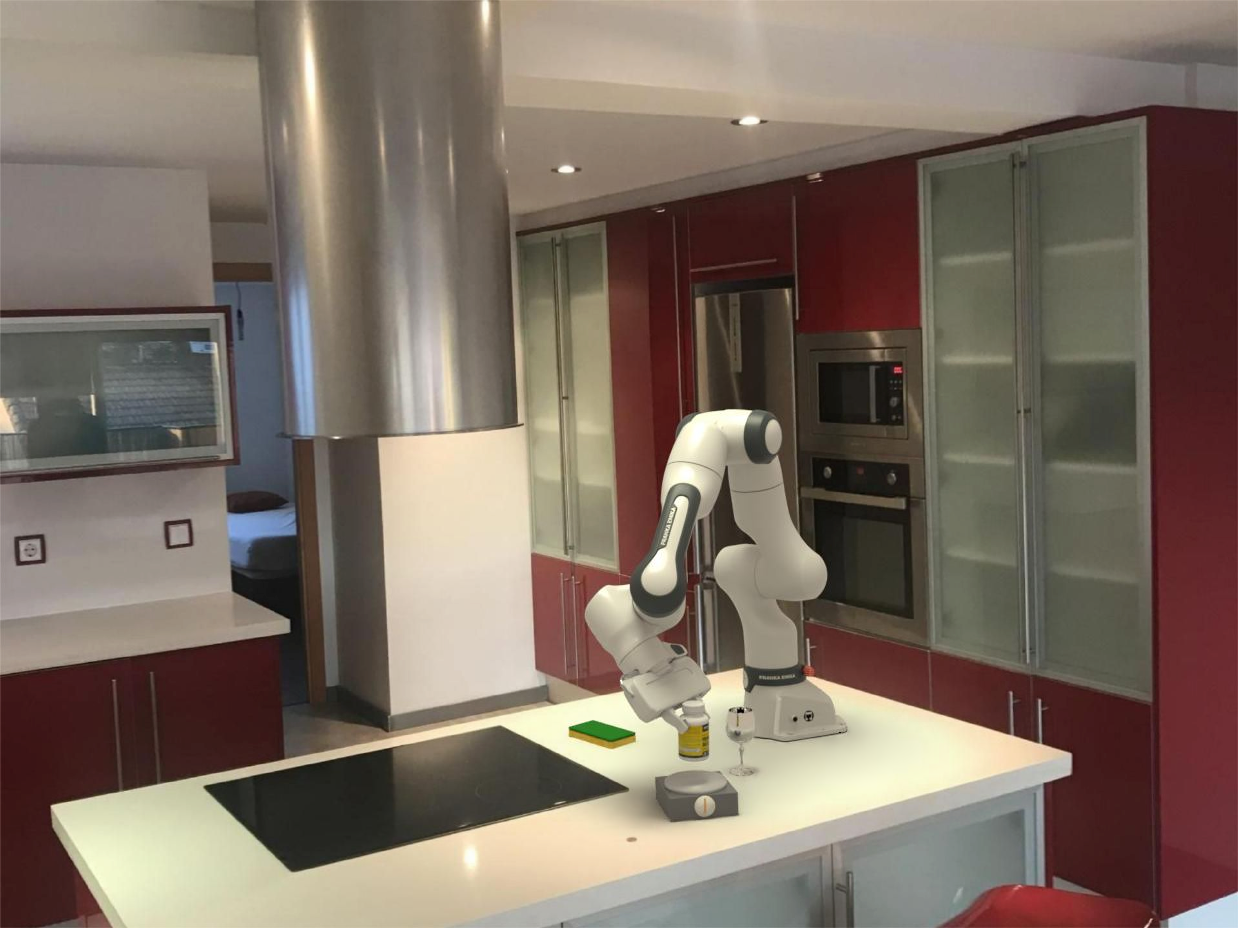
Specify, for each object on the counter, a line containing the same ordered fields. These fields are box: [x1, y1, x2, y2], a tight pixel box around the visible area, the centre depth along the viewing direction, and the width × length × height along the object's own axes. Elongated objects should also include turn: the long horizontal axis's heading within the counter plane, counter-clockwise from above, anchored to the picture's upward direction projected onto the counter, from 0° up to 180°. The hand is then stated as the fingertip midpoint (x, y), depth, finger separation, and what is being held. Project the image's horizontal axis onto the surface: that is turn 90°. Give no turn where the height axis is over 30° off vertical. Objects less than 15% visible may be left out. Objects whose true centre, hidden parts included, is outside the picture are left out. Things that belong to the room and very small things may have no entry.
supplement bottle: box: [677, 700, 710, 763], centre depth 227 cm, size 5×5×10 cm
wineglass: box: [725, 706, 756, 776], centre depth 246 cm, size 6×6×12 cm
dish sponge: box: [568, 719, 637, 750], centre depth 271 cm, size 7×14×2 cm, turn 42°
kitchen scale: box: [654, 769, 739, 823], centre depth 228 cm, size 12×13×5 cm
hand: (696, 726), depth 227 cm, fingers closed on supplement bottle, 5 cm apart
